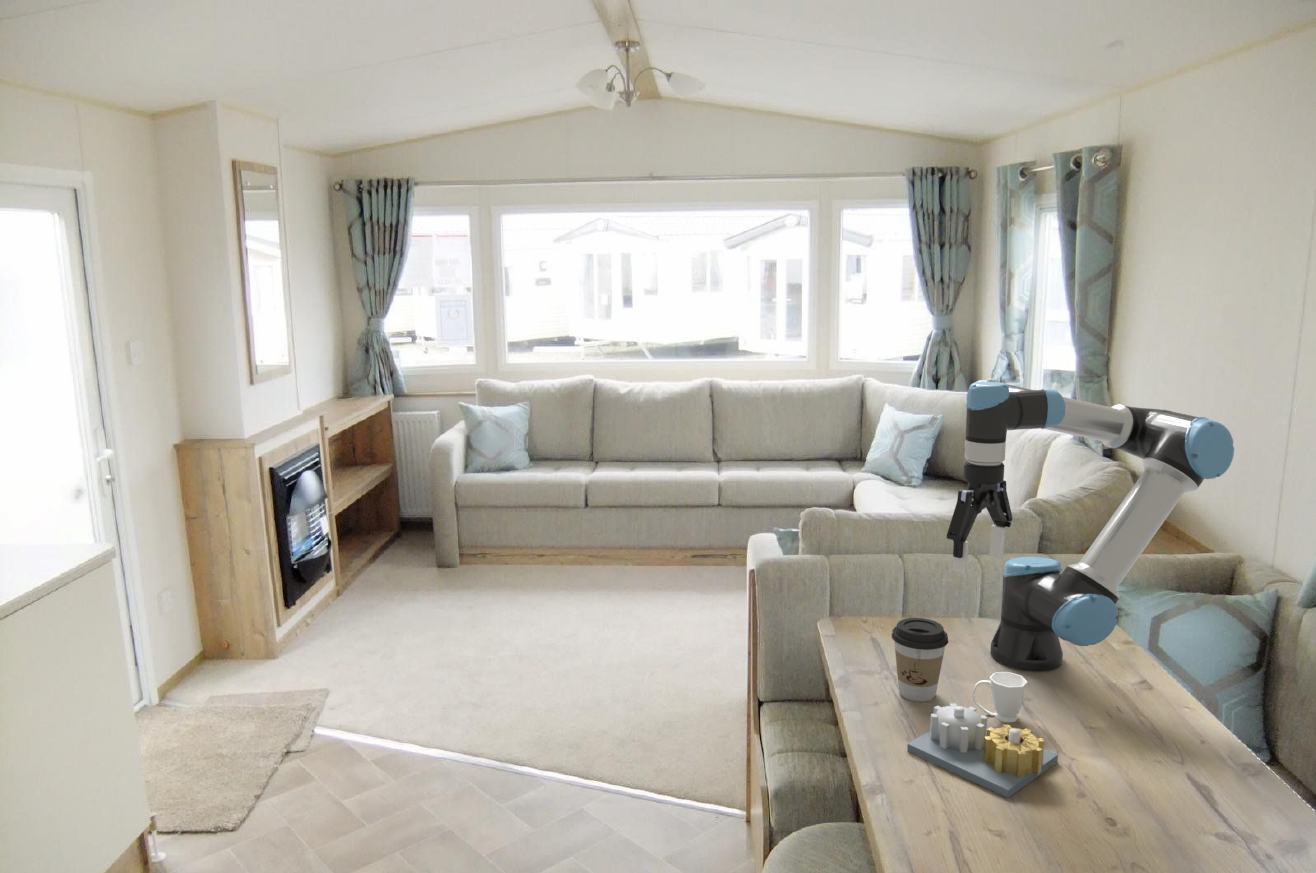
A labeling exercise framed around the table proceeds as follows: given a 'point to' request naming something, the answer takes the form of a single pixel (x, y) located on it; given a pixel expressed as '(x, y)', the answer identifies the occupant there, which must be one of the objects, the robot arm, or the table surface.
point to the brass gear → (1013, 752)
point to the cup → (1005, 695)
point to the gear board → (969, 749)
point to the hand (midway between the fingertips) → (978, 564)
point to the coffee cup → (919, 657)
